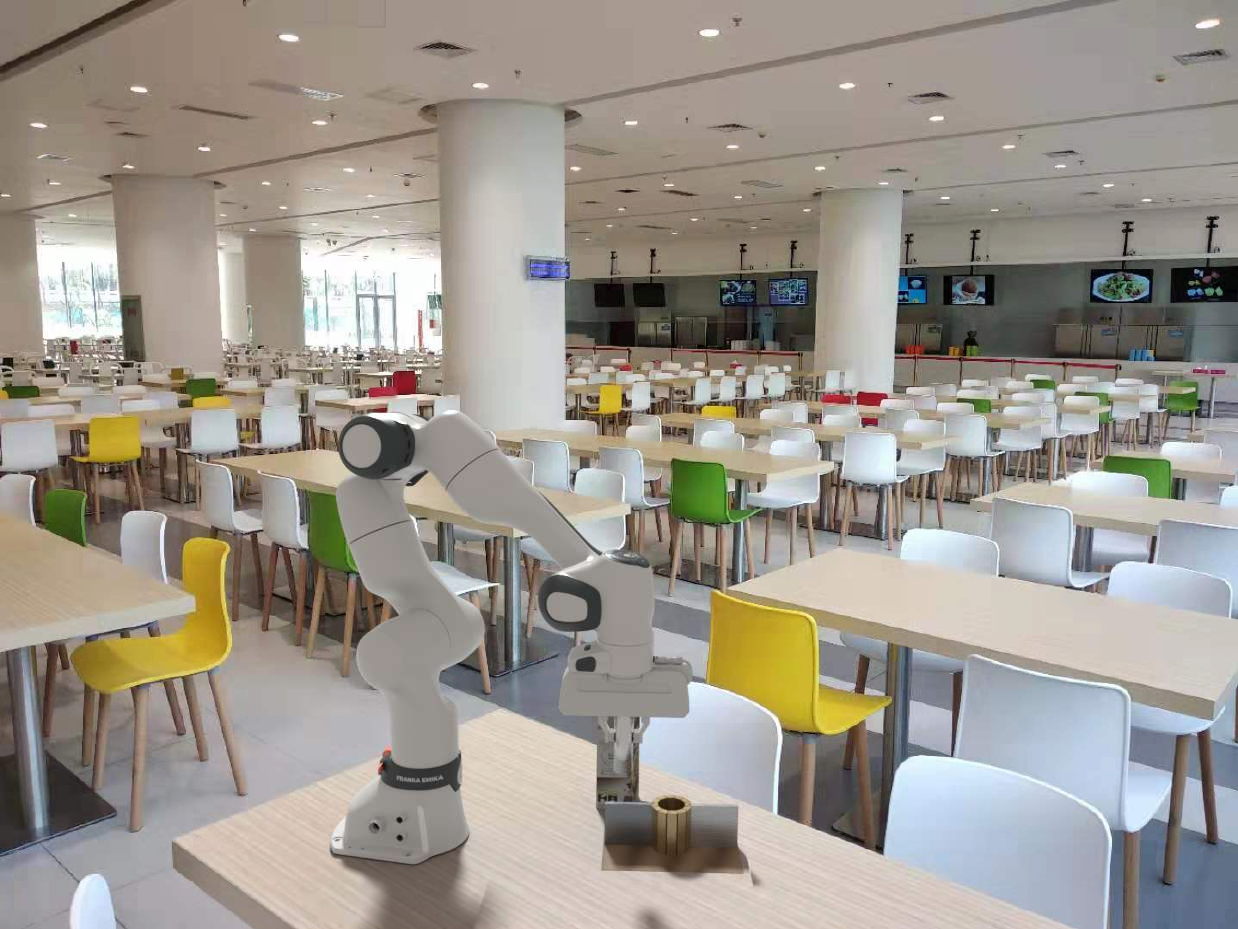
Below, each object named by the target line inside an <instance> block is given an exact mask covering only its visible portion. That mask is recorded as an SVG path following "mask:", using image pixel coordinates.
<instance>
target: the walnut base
mask: <svg viewBox="0 0 1238 929" xmlns="http://www.w3.org/2000/svg"><path fill="white" fill-rule="evenodd" d="M604 841H605V830H604V831H603V843H602V856H601V867H600V869H601V870H600V871H626V872H628V871H629V872H663V873H665V872H666V873H671V872H672V873H703V874H704V873H706V874H708V873H709V874H742V875H743V874H744V869H743V863H742V859H741V854H740V848H739V844H738V841H737V848H727V847H691V848H690V849H689V850H688V851H687V852H685V853H683V854H680V855H667V854H666V855H664V854H661V853H658V852H656V851H655V850H654V849H653V848H652V847H651V846H643V845H604Z"/></svg>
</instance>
